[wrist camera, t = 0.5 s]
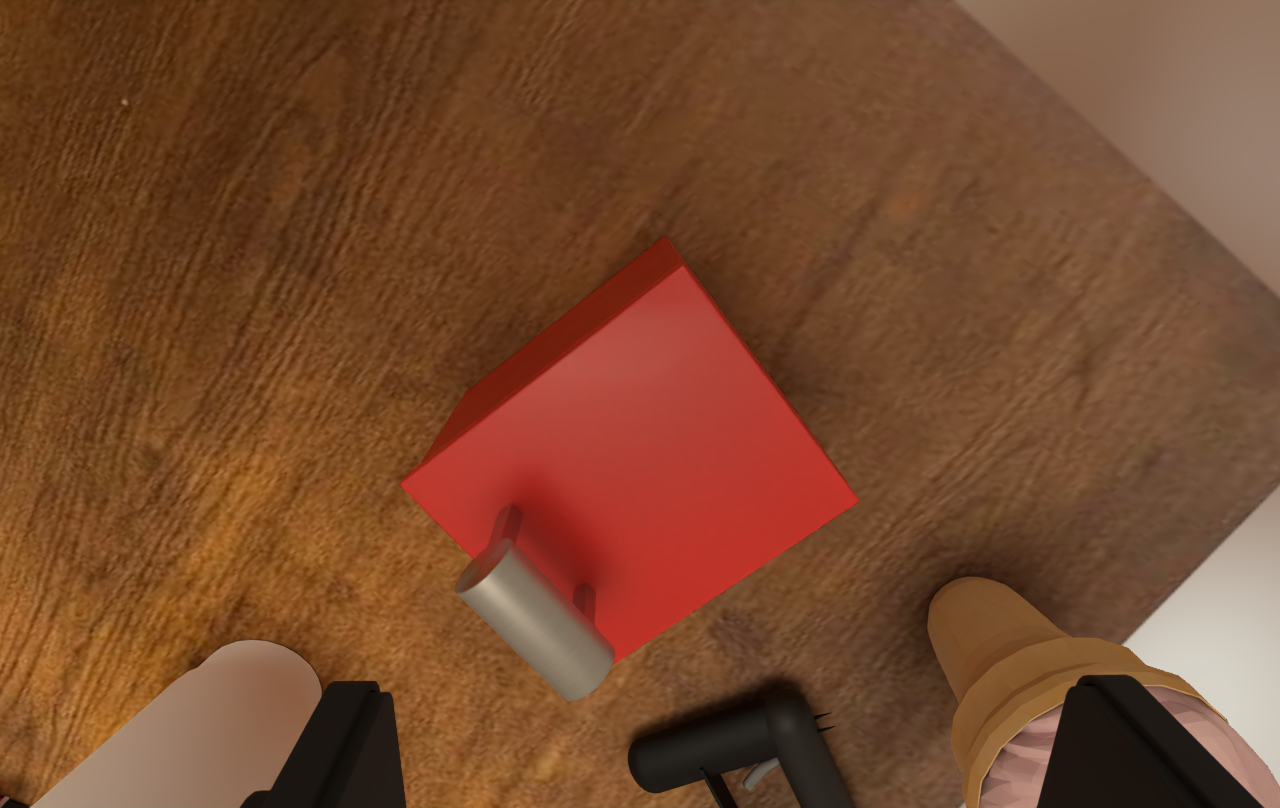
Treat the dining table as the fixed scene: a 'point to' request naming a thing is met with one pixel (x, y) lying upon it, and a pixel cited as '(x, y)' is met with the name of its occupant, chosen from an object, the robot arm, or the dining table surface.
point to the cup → (202, 736)
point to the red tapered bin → (572, 338)
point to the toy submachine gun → (744, 752)
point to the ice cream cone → (1046, 694)
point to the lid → (626, 486)
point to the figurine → (9, 803)
